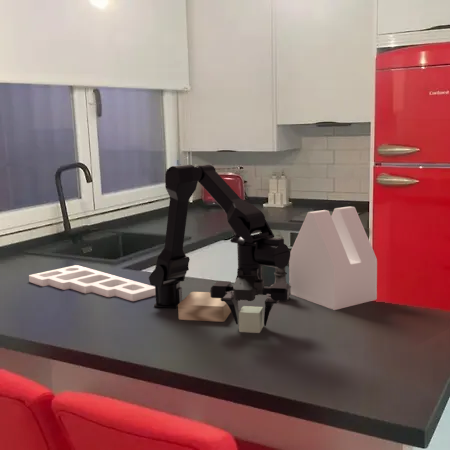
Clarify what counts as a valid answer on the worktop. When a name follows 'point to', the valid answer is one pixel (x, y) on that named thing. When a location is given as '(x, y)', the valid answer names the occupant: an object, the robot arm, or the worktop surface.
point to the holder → (93, 282)
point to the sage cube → (251, 319)
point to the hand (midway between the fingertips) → (251, 324)
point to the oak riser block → (203, 308)
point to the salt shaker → (280, 277)
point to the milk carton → (333, 260)
